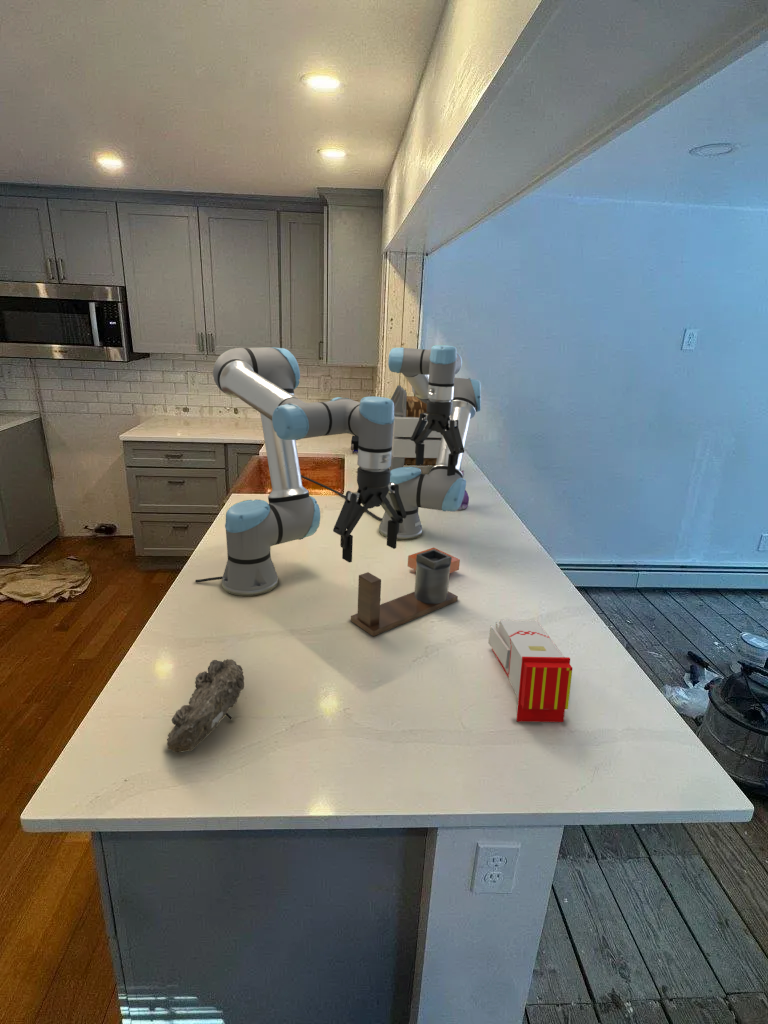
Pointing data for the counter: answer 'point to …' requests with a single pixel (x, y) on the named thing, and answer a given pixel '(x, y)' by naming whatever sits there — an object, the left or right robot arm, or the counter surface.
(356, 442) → the figurine character
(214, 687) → the fossil
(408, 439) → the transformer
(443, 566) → the caddy
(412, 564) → the orange square block
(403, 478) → the right robot arm
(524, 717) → the toy
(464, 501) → the figurine
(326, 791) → the counter surface
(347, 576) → the counter surface
